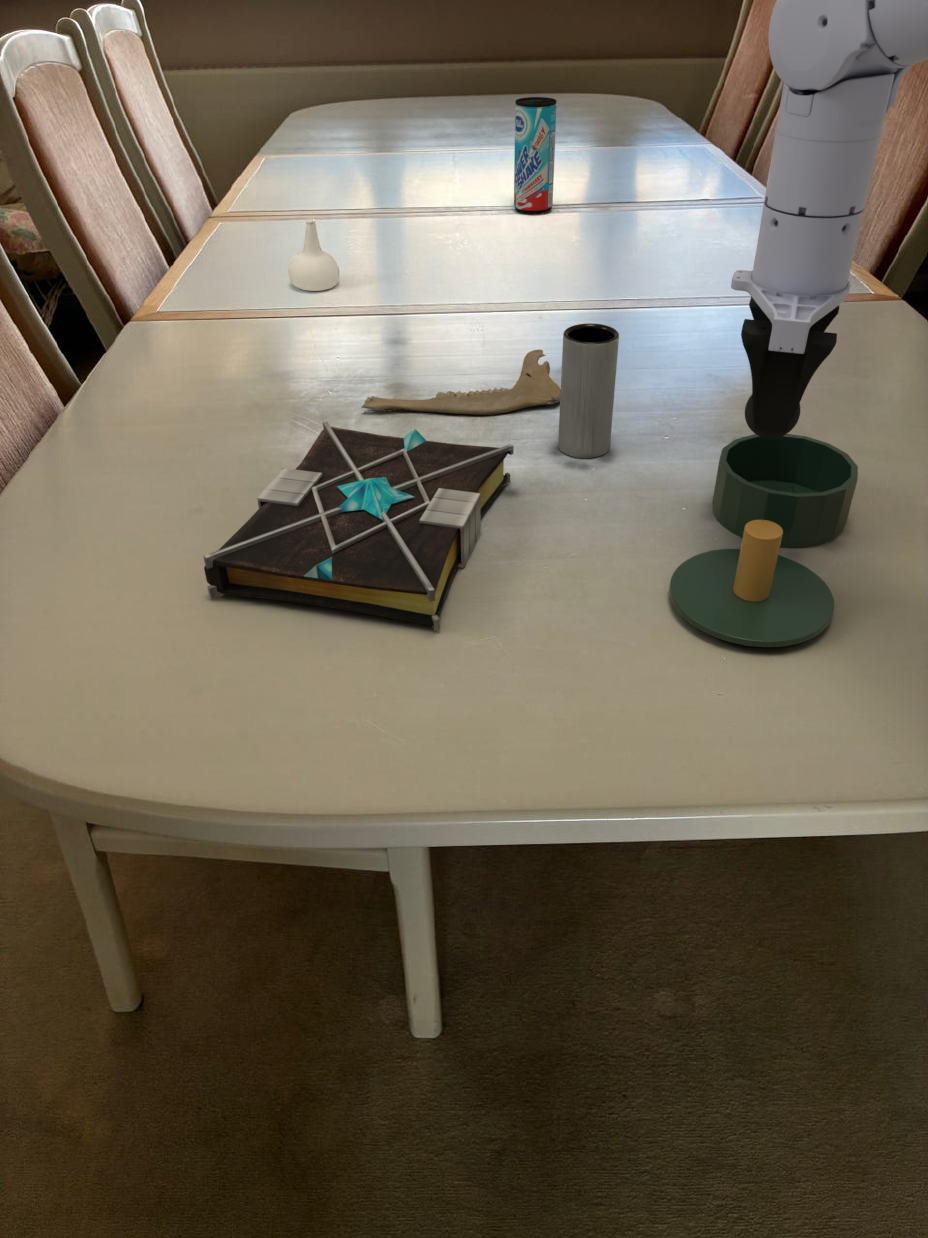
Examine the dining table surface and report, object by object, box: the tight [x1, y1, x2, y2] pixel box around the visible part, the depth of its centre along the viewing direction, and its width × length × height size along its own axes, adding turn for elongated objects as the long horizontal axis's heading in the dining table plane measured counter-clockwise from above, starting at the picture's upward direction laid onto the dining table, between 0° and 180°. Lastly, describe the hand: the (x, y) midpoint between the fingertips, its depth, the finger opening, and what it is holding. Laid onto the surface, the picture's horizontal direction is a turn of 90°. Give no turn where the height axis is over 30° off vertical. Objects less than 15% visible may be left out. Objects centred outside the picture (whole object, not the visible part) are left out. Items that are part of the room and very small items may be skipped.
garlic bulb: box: [287, 218, 340, 292], centre depth 118 cm, size 6×6×8 cm
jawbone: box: [361, 349, 561, 416], centre depth 91 cm, size 9×20×2 cm, turn 119°
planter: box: [557, 323, 620, 459], centre depth 81 cm, size 4×4×10 cm
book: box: [202, 420, 514, 632], centre depth 72 cm, size 22×17×5 cm
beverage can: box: [513, 96, 558, 216], centre depth 142 cm, size 6×6×15 cm
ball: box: [744, 394, 801, 439], centre depth 65 cm, size 4×4×4 cm
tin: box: [711, 433, 859, 549], centre depth 74 cm, size 10×10×4 cm
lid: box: [669, 520, 835, 648], centre depth 64 cm, size 11×11×6 cm
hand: (772, 416), depth 65 cm, fingers closed on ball, 3 cm apart
